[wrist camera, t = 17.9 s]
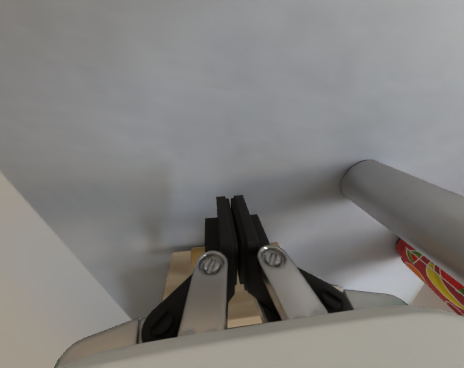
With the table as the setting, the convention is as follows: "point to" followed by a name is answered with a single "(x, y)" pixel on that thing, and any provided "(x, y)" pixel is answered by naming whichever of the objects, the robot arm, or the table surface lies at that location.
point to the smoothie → (433, 277)
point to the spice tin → (412, 212)
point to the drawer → (239, 306)
